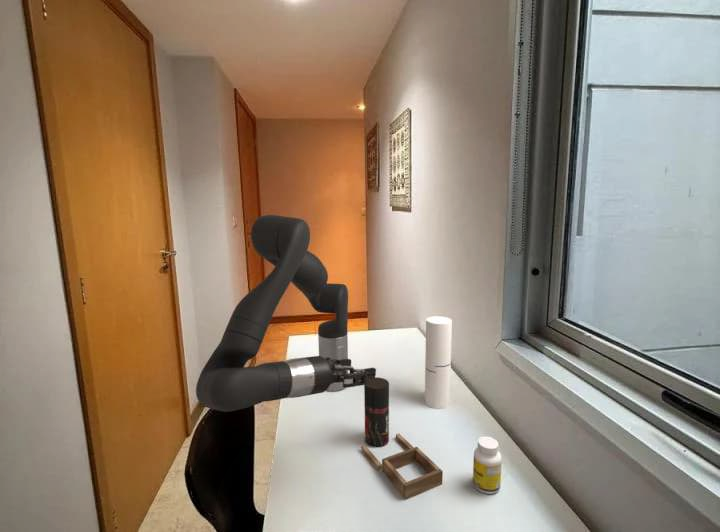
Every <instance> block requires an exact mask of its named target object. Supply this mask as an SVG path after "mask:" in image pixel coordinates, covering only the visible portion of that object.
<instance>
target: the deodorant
mask: <svg viewBox="0 0 720 532" xmlns="http://www.w3.org/2000/svg"><path fill="white" fill-rule="evenodd" d="M363 387H364V389H363V390H364V391H363V392H364V393H363V394H364V442H365V445H366V446H369V447H371V448H383V447H385V446H387V445H388V443H389V442H390V382H389V381H388V379H385V378H384V377H375V378H372V379H367V385H363Z"/></svg>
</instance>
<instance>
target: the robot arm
mask: <svg viewBox="0 0 720 532" xmlns="http://www.w3.org/2000/svg"><path fill="white" fill-rule="evenodd" d="M250 239H251V244H252V246H253V249H254V250H255V252H256V254H258V256H260V257H261V258H263V259H264V260H266V261H267V262H269V263H271V264H272V265H273V266H274V268H273V269H272V270H271V272H269V274H268V275H267V276H266V277H265V278H264V279H263V280H261V282H259V283H258V285H256V286H255V287H253V288H252V290H250V291H249V292H248V293H246V295H244V296H243V297H242V298H241V300H240V301H239V302H238V304H237V305H236V306H235V308H234V310H233V312H232V314H231V316H230V318H229V321H228V323H227V326H226V328H225V330H224V333H223V335H222V337H221V340H220V342H219V343H218V345H217V347H216V348H215V349H214V351H212V354H211V355H210V357H209V358H208V360H207V361H206V363H205V365H204V366H203V368H202V371H201V372H200V374H199V376H198V379H197V382H196V387H195V395H196V398H197V400H198V402H199V403H200V404H201V405H202V406H204V407H205V408H207V409H212V410H216V411H220V412H233V411H239V410H243V409H246V408H250V407H252V406H256V405H258V404H260V403H261V404H262V403H263V402H272V401H273V402H274V401H277V400H284V399H294V398H301V397H306V396H312V395H316V394H322V393H326V392H327V391H328V392H338V391H343V390H345V389H348V388H349V389H350V388H354V387H361V386H364V385H367V379H372V378H376V373H377V368H375V367H368V368H354V366H352V359H351V358H349V347H348V346H349V345H348V344H349V343H348V342H349V341H348V340H349V339H348V338H349V337H348V326H349V324H348V323H349V322H348V318H349V315H348V313H349V309H348V308H349V291H348V287H347V285H346V284H343V283H328V282H329V281H328V280H329V274H328V270H327V268H326V266H325V265H324V263H323V262H322V260H321V259H320V258H319V257H318V256H316V255H315V254H314V253H312V252H310V251H309V250H308V249H309V246H310V243H311V242H310V241H311V229H310V227H309V224H308V222H306V221H305V220H304V219H301V218H297V217H291V216H282V215H276V214H267V215H266V214H265V215H262V216H259V217H258V218H257V219H256V220H255V221H254V222H253V224H252V225H251V229H250ZM290 284H292V285H293V286H295V288H296V289H298V290H299V291H300V292H301V293H302V294H303V296H305V298H307V301H308V302H309V304H310V305H311V307H312V308H313V310H314V311H316V312H318V313H320V314H323V313H324V314H334V315H335V317H334V318H332V319H330V320H327V321H323V322H322V323H320V324H319V325H318V327H317V332H318V333H317V334H318V335H317V336H318V342H317V343H318V355H314V356H306V357H296V358H289V359H286V360H281V361H273V362H272V361H271V362H270V361H269V362H265V363H260V364H258V365H254V366H246V364H247V362H249V360H252V359H254V358H255V357H256V356H257V354H258V353H259V350H260V348H261V346H262V343H263V341H264V338H265V336H266V333H267V331H268V328H269V325H270V322H271V320H272V317H273V315H274V313H275V311H276V309H277V307H278V305H279V304H280V301H281V299H282V297H283V296H284V294H285V293H286V291H287V289H288V288H289V285H290Z"/></svg>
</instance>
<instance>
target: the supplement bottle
mask: <svg viewBox="0 0 720 532" xmlns="http://www.w3.org/2000/svg"><path fill="white" fill-rule="evenodd" d="M499 445H500V444H499V442H498V441H497V440H496V439H494V437H490V436H480V437H479V438H478V439H477V447H476V448H475V449H474V452H473V468H472V470H473V473H472V483H473V486H474V487H475V488H476V489H477V490H478V491H480V492H481V493H484V494H488V495H493V494H496V493H498V492H500V489H501V482H502V481H501V480H502V462H503V461H502V459H503V458H502V453H501V452H500V451H499Z"/></svg>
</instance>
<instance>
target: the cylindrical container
mask: <svg viewBox="0 0 720 532" xmlns="http://www.w3.org/2000/svg"><path fill="white" fill-rule="evenodd" d="M425 319H426V320H425V359H424V361H425V362H424V363H425V364H424V365H425V366H424V368H425V369H424V373H425V374H424V403H425V405H426V406H427V407H429V408H432V409H435V410H442V409H446V408H448V407H449V406H450V404H451V402H450V401H451V371H452V369H451V368H452V367H451V366H452V364H451V363H452V336H453V334H452V333H453V332H452V331H453V330H452V329H453V328H452V327H453V320H452V319H451V318H449V317H447V316H441V315H439V316H438V315H437V316H433V315H432V316H428V317H427V318H425Z"/></svg>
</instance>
